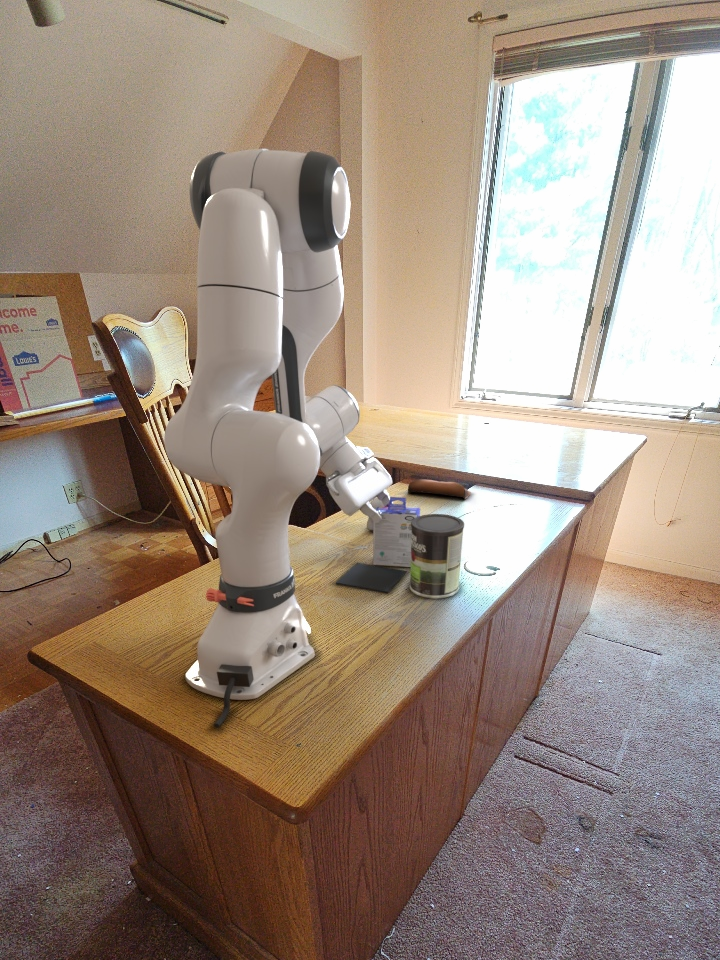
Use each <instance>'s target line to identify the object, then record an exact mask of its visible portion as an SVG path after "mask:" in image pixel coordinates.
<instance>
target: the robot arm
mask: <svg viewBox="0 0 720 960" xmlns="http://www.w3.org/2000/svg"><path fill="white" fill-rule="evenodd" d="M347 178H348V177H347V175H346V171H345V170H344V168H343V167H342V165H341V164H340V162H339V161H338V160H337V159H336V158H335V157H334V156H332V155H331V154H327V153H324V152H320V151H315V150H310V151H308V152H306V153H305V152H299V151H294V150H293V151H291V150H278V149H276V150H275V149H273V150H272V149H271V150H270V149H268V148H253V149H251V148H250V149H245V150H244V149H243V150H237V151H232V152H228V153H226V152H224V151H218V152H214V153H210V154H208V155H205V156H204V157H202V158H200V159H199V160H198V161H197V163H196V165H195V167H194V169H193V171H192V174H191V177H190V181H189V203H190V207H191V208H190V209H191V212H192V215H193V218H194V221H195V225H196V226H197V228H198V229H199V237H198V245H197V246H198V247H197V261H196V303H197V304H196V309H197V311H196V313H197V317H196V318H197V319H196V320H197V321H196V322H197V323H196V325H197V326H196V327H197V328H196V329H197V330H196V333H197V335H196V336H197V337H196V340H197V341H196V342H197V343H196V356H195V358H196V359H195V364H194V369H193V373H192V377H191V380H190V384H189V388H188V391H187V394H186V396H185V399H184V401H183V402H182V404H181V406H180V407H179V409H178V410H177V412H176V413H174V414H173V415H172V416H171V418H170V419H169V420H168V422H167V425H166V428H165V431H164V440H163V441H164V449H165V453H166V456H167V458H168V460H169V462H170V463H171V464H172V465H173V466H174V468H176V469H177V470H178V471H180V472H181V473H184V474H185V475H187V476H189V477H191V478H192V479H195V480H197V481H199V482H202V483H206V484H210V485H216V486H222V487H225V488H229V489H230V491H231V495H232V506H231V511H230V513H229V514H228V515H226V516H225V517H223V519H221V521H220V522H219V523H218V525H217V526H216V529H215V533H214V538H215V544H216V548H217V549H216V550H217V553H218V555H217V556H218V562H219V567H220V575H219V582H218V589H215V588H212V587H210V588H207V590H206V593H205V599H206V600H207V602H215V603H217V605H216V608H215V610H214V611H213V613H212V615H211V617H210V619H209V621H208V623H207V624H206V627H205V628H204V630H203V631H202V634H201V636H200V637H199V639H198V642H197V646H196V654H197V655H196V656H197V660H196V661H195V662H194V663H193V664H192V665H191V667H190V668H189V669H188V670H187V671H186V673H184V676H185V677H184V678H185V681H186V683H187V684H188V685H189V686H190V687H192V688H193V689H195V690H196V691H199V692H201V693H204V694H207V695H209V696H214V697H216V698H221V699H223V708H222V712H221V714H220V715H219V717H218V718H217V719H216V721H215V722H214V723H213V727H214V728H215V729H219V728H220V727H221V726H222V724H223V723H224V722H225V720H226V719H227V717H228V715H229V712H230V710H231V709H230V707H231V705H230V704H231V702H230V701H231V700H234V701H235V700H237V701H248V700H255V699H258V698H259V697H262V695H264V694H266V692H268V691H269V690H271V689H272V688H274V687H275V686H276V685H278V684H280V683H281V682H282V681H283V680H285V679H286V678H287V677H289V676H290V675H292V674H293V673H294V672H295V671H297V670H298V669H300V668H301V667H303V666H305V664H307V663H309V662H310V661H311V660H313V659H314V658H315V657H316V654H315V649H314V648H313V646H312V645H310V644H309V639H308V634H311V627H310V624H309V623H308V622H307V621H306V618H305V617H304V613H303V610H302V608H301V606H300V605H299V602H298V601H297V598H296V596H295V593H296V576H295V574H294V569H293V567H292V566H291V558H290V546H289V545H290V544H289V521H290V516H291V512H292V509H293V507H294V504H295V502H296V501H297V499H298V498H299V497H300V496H301V495H302V494H303V493H304V492H305V491H307V490H308V489H309V487H310V486H311V485H312V484H313V482H314V481H315V479H316V477H317V475H318V473H319V470H320V471H321V472H322V473H323V474H324V476H325V486H326V487H327V489H328V491H329V494H330V496H331V497H332V499H333V500H334V502H335V504H337V506H338V507H339V509H340V510H341V511H342V512H343V513H344V514H345V515H346V516H348V517H351V516H353V515H354V514H356V513H357V512H359V511H360V512H361V513H362V515H364V516H366V517H368V518H369V517H370V518H372V520H373V521H374V522H375V523H378V522H379V521H380V520H382V519H383V515H382V514H381V513H380V511H378V512H377V511H376V510H375V509H373V508H372V507H371V506H372V505H371V504H370V503H371V501H372V500H374V499H375V498H378V499H379V500H381V501H382V503H383V504H384V506H385V507H389V502H390V497H391V496H390V494H389V492H388V491H387V490H388V489H389V488H390V487H391V486H392V485H393V483H394V482H393V478H392V477H391V475H390V473H389V472H388V471H387V470H386V468H385V467H384V466H383V464H381V462H380V461H379V460H378V459H377V458H375V457H373V456H374V452H373V451H372V449H370V448H369V447H365V446H359V445H354V443H353V442H352V441H351V440H350V439H348V437H347V435H349V434H350V433H351V432H352V431H354V430H355V428H356V427H357V425H359V422H360V412H361V411H360V407H359V404H358V402H357V400H356V398H355V397H354V396H353V394H352V393H351V392H350V391H348V390H347V389H346V388H345V387H343V386H341V385H336V384H332V385H330V386H327V387H325V388H324V389H322V390H320V391H319V392H318V393H315V394H313V395H311V396H309V395H306V388H305V374H306V370H307V367H308V364H309V362H310V361H311V358H312V357H313V355H314V353H315V352H316V350H317V349H318V348H319V346H320V345H321V343H322V342H323V341H324V340H325V339H326V337H327V336H328V335H329V334H330V332H331V331H332V330H333V329H334V327H335V326H336V324H337V323H338V321H339V319H340V317H341V314H342V311H343V307H344V306H343V305H344V280H343V274H342V265H341V258H340V252H339V247H338V245H339V244H340V242H341V241H342V240H343V239H344V237H346V234H347V231H348V228H349V227H348V226H349V221H350V213H351V195H350V189H349V184H348V183H349V181H348V179H347ZM270 377H271V381H272V389H273V400H274V401H273V402H274V409H275V412H274V411H273V412H272V411H262V410H254V405H255V401H256V397H257V395H258V392H259V390H260V388H261V386H262V384H263V383H264V382H265V381H266V380H267V379H268V378H270ZM392 504H394V502H393V503H392ZM307 633H308V634H307Z"/></svg>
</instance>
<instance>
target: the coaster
mask: <svg viewBox="0 0 720 960" xmlns="http://www.w3.org/2000/svg"><path fill="white" fill-rule="evenodd" d="M407 573H408V571H407V570H406V569H405V570H404V569H398V568H392V567H385V566H381V565H373V564H367V563H361V562H356V563H355V564H354V565H353V566H352V567H351V568H350V569H349V570H347V571H346V572H345V573H344V574H343V575H341V577H340V578H338V579H337V580H336V581H335V585H340V586H346V587H351V588H355V589H362V590H368V591H372V592H379V593H382V594H383V593H384V594H389V593H390V591H391V590H393V588H394V587H395V586H396V585H397V584H398V583H399V582H400V580H401V579H402V578H404V576H405V575H406V574H407Z"/></svg>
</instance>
